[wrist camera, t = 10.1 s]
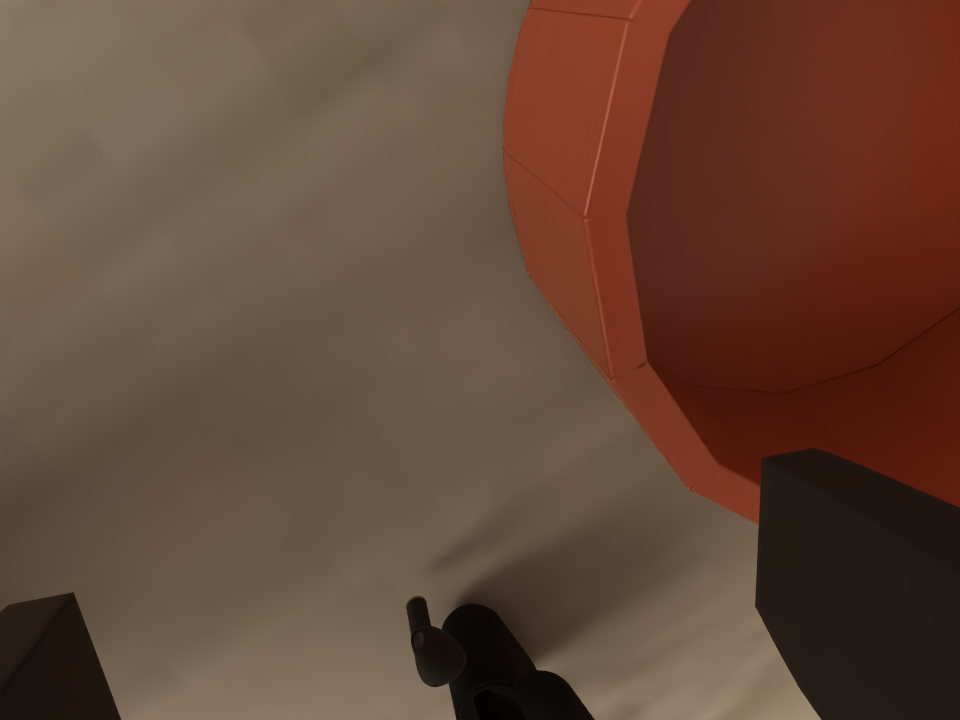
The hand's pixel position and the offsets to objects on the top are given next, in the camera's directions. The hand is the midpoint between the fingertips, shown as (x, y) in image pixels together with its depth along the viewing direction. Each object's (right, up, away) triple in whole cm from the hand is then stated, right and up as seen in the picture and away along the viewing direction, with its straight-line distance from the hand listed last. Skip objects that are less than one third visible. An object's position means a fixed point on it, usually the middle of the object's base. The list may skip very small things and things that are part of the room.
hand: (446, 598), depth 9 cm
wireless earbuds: (+1, -4, +12) cm, 12 cm away
